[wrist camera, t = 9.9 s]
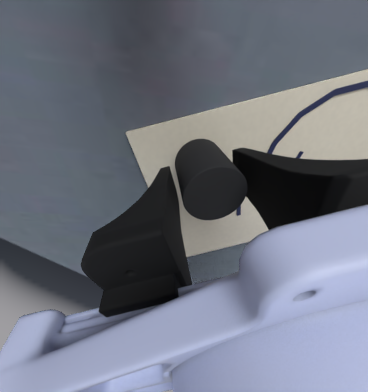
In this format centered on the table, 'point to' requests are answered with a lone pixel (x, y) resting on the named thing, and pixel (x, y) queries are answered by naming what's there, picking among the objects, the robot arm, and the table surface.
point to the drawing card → (260, 144)
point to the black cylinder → (208, 180)
